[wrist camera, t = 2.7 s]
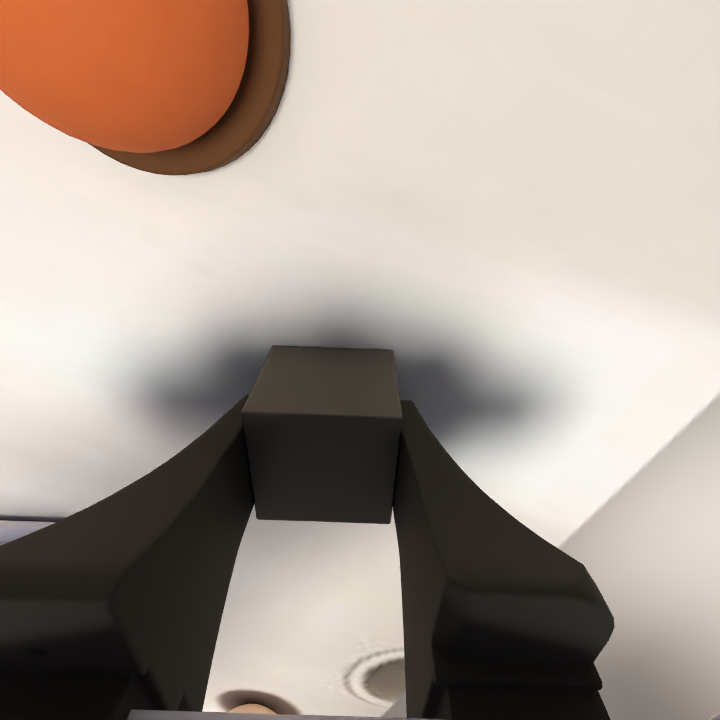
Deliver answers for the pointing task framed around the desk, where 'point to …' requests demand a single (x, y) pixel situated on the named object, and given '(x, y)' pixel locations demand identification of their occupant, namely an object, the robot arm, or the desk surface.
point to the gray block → (324, 435)
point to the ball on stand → (149, 75)
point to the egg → (252, 709)
